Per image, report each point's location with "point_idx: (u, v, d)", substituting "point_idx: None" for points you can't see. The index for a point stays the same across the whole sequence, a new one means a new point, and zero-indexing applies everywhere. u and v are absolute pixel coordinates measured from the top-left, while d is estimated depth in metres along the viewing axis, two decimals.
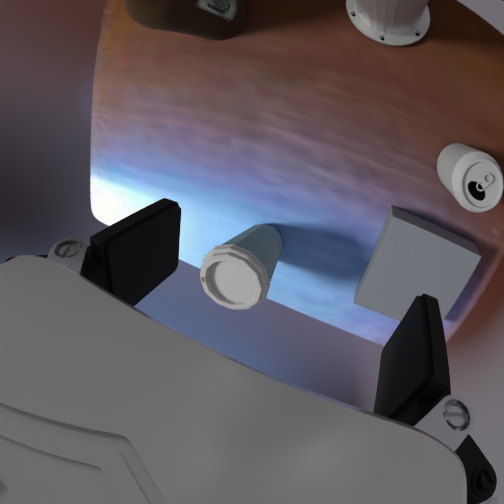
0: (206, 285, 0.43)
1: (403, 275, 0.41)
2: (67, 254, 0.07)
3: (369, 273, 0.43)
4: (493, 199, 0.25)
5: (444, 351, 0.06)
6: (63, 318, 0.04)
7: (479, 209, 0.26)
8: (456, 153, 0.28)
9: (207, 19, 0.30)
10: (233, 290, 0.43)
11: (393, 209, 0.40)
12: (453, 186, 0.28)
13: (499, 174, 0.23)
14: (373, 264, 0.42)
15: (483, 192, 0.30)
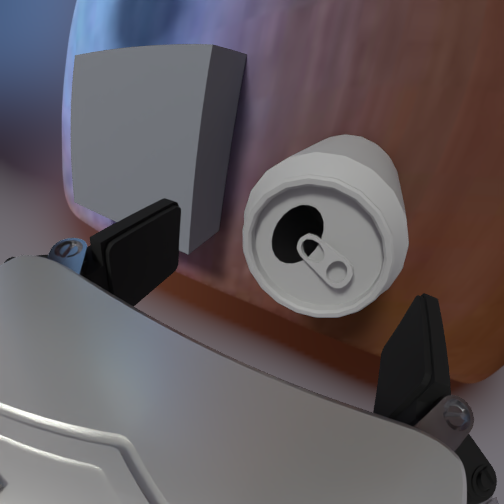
0: None
1: (120, 109, 0.20)
2: (67, 254, 0.07)
3: (113, 51, 0.18)
4: (282, 288, 0.13)
5: (444, 351, 0.06)
6: (63, 318, 0.04)
7: (246, 248, 0.12)
8: (388, 172, 0.13)
9: None
10: None
11: (235, 53, 0.18)
12: (297, 158, 0.11)
13: (351, 307, 0.12)
14: (126, 49, 0.17)
15: (305, 246, 0.19)
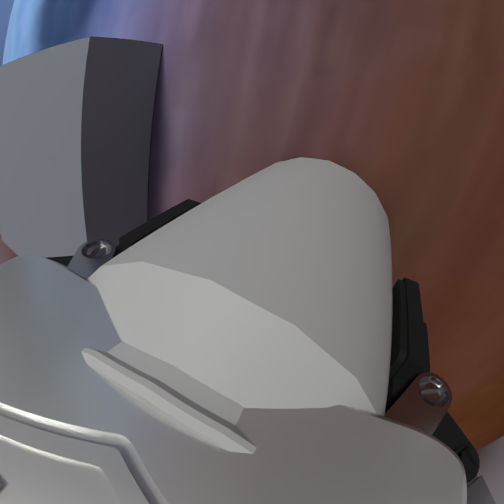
0: None
1: (17, 137, 0.13)
2: (95, 255, 0.08)
3: (10, 64, 0.11)
4: None
5: (421, 330, 0.07)
6: (63, 318, 0.04)
7: None
8: (364, 264, 0.06)
9: None
10: None
11: (139, 44, 0.11)
12: (110, 274, 0.04)
13: None
14: (19, 61, 0.10)
15: None
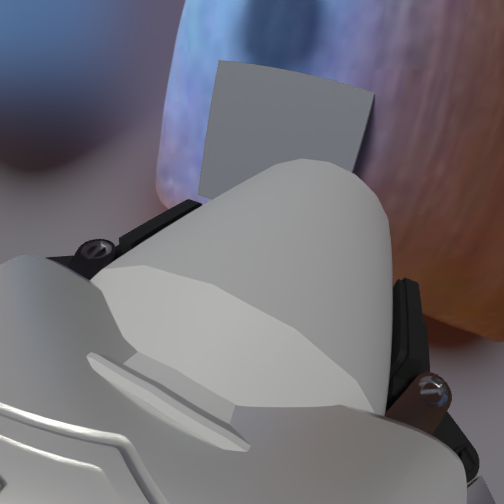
0: None
1: (280, 120, 0.27)
2: (95, 255, 0.08)
3: (273, 69, 0.25)
4: None
5: (421, 330, 0.07)
6: (63, 318, 0.04)
7: None
8: (364, 267, 0.06)
9: None
10: None
11: (374, 97, 0.25)
12: (111, 277, 0.04)
13: None
14: (289, 72, 0.24)
15: None
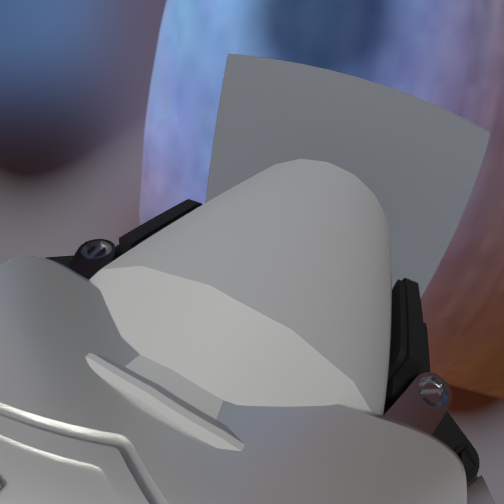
0: None
1: (338, 165, 0.16)
2: (95, 255, 0.08)
3: (327, 73, 0.14)
4: None
5: (421, 330, 0.07)
6: (63, 318, 0.04)
7: None
8: (363, 267, 0.06)
9: None
10: None
11: None
12: (109, 278, 0.04)
13: None
14: (357, 80, 0.13)
15: None
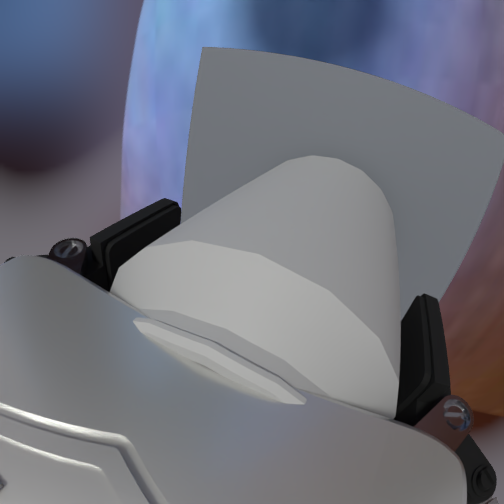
0: None
1: None
2: (67, 254, 0.07)
3: (317, 65, 0.11)
4: None
5: (444, 351, 0.06)
6: (63, 318, 0.04)
7: None
8: (377, 249, 0.07)
9: None
10: None
11: None
12: (157, 254, 0.05)
13: None
14: (353, 73, 0.11)
15: None
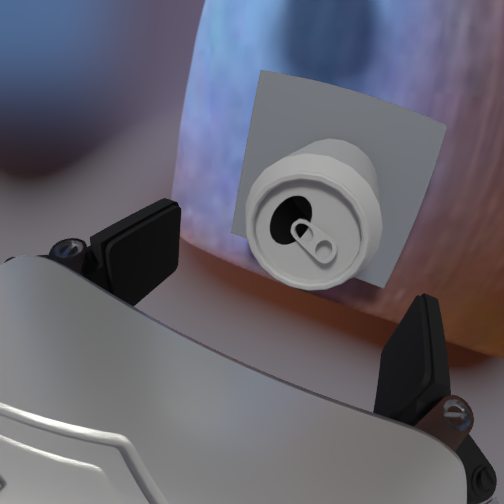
0: None
1: None
2: (67, 254, 0.07)
3: (332, 87, 0.20)
4: (279, 267, 0.16)
5: (444, 351, 0.06)
6: (63, 318, 0.04)
7: (249, 232, 0.15)
8: (365, 169, 0.16)
9: None
10: None
11: None
12: (290, 159, 0.14)
13: (337, 280, 0.14)
14: (352, 92, 0.20)
15: None
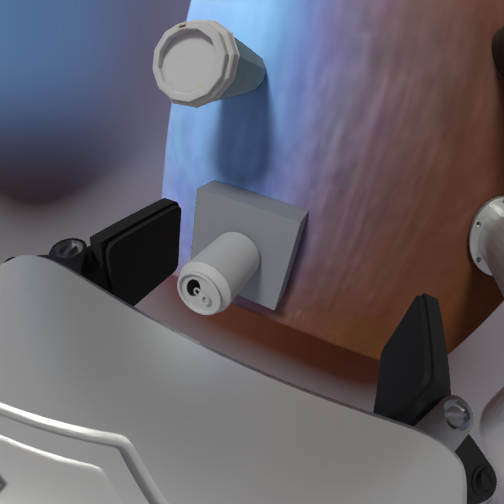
0: (175, 31, 0.24)
1: None
2: (67, 254, 0.07)
3: (234, 201, 0.42)
4: (192, 304, 0.37)
5: (444, 351, 0.06)
6: (63, 318, 0.04)
7: (178, 290, 0.37)
8: (231, 262, 0.37)
9: None
10: (177, 65, 0.26)
11: (305, 215, 0.42)
12: (192, 263, 0.35)
13: (212, 311, 0.36)
14: (244, 204, 0.41)
15: None
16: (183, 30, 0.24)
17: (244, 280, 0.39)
